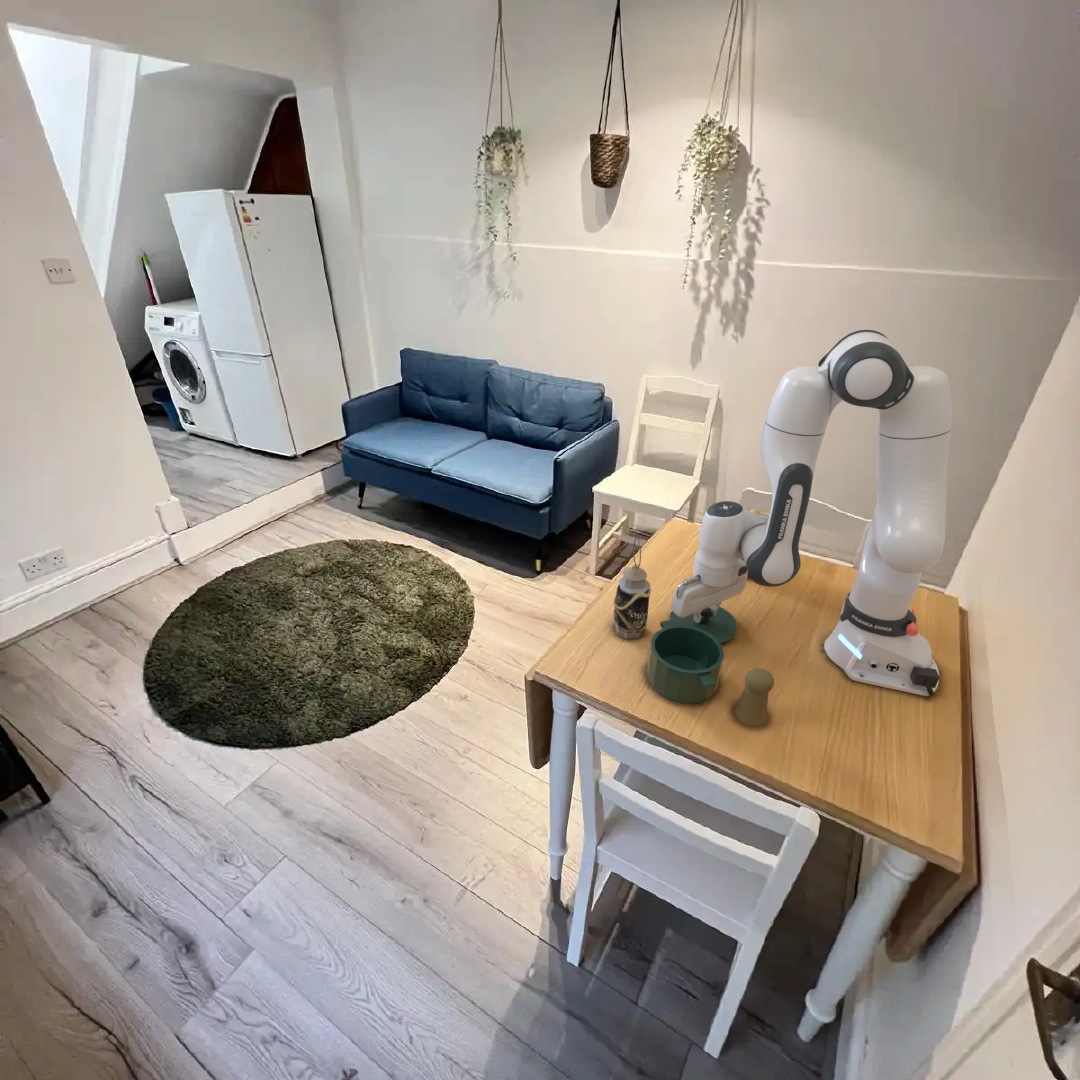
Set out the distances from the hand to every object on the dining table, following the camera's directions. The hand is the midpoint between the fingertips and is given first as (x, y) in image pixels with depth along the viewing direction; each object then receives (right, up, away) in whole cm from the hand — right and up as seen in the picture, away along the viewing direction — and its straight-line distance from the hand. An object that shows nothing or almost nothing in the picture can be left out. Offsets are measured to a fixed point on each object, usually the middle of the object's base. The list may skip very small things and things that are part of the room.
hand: (704, 618), depth 136 cm
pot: (-9, -11, -13) cm, 19 cm away
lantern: (-18, -3, 0) cm, 18 cm away
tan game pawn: (+3, -16, -22) cm, 28 cm away
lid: (0, -1, +1) cm, 2 cm away
